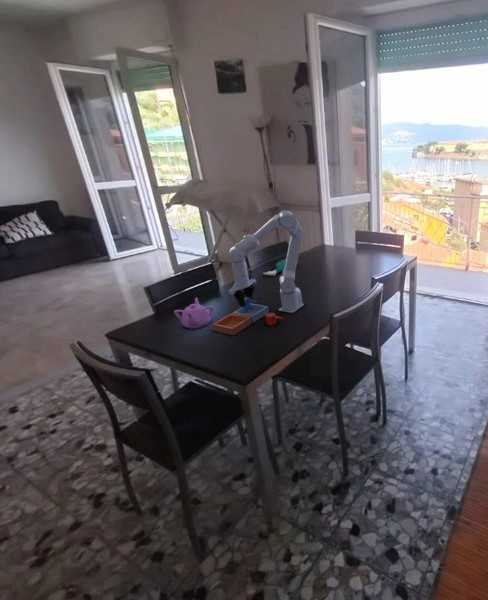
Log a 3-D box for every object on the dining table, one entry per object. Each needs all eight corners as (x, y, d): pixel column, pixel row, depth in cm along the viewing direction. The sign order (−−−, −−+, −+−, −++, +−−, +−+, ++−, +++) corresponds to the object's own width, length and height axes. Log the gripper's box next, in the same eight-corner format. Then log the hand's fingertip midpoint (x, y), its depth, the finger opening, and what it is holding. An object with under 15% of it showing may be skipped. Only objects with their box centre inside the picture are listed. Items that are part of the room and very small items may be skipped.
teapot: (193, 333, 143) (187, 313, 140) (174, 324, 150) (169, 305, 147) (219, 321, 153) (215, 303, 149) (200, 314, 159) (196, 296, 156)
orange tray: (232, 319, 154) (231, 313, 153) (251, 323, 151) (250, 317, 149) (213, 330, 145) (211, 324, 144) (233, 335, 142) (232, 328, 140)
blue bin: (250, 308, 164) (249, 303, 163) (269, 312, 160) (268, 306, 159) (233, 318, 155) (232, 312, 154) (253, 322, 151) (252, 316, 150)
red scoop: (264, 324, 150) (263, 316, 148) (270, 320, 153) (269, 312, 151) (280, 327, 147) (279, 319, 145) (286, 323, 150) (285, 315, 149)
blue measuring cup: (239, 307, 156) (238, 299, 154) (246, 304, 159) (244, 296, 157) (254, 310, 153) (253, 302, 151) (260, 306, 156) (259, 298, 155)
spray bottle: (300, 264, 223) (277, 277, 202) (285, 262, 226) (261, 276, 205) (299, 259, 221) (276, 273, 200) (284, 258, 225) (260, 271, 204)
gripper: (245, 268, 158) (250, 296, 164) (220, 279, 146) (226, 309, 151) (257, 270, 156) (262, 298, 161) (233, 281, 143) (239, 311, 149)
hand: (246, 303), depth 156 cm, fingers closed on blue measuring cup, 4 cm apart
